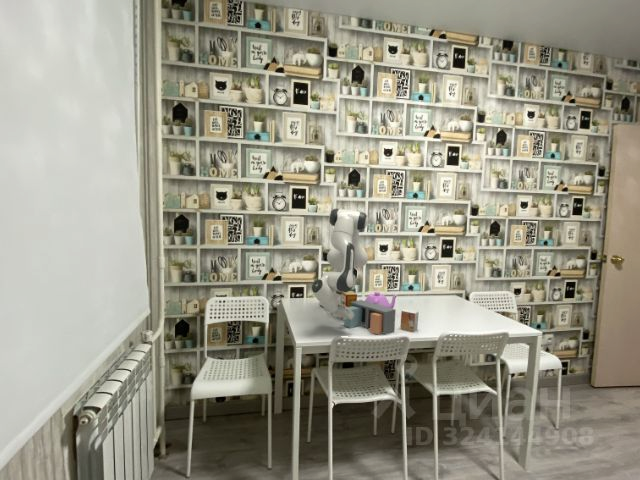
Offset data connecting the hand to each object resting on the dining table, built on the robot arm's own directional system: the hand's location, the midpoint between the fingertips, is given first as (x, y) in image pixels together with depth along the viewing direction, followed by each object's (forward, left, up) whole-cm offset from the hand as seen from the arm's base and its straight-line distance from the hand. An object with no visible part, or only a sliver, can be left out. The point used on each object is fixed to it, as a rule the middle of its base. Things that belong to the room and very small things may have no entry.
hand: (344, 318), depth 222 cm
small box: (+23, +27, -6) cm, 36 cm away
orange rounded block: (+16, +10, -5) cm, 20 cm away
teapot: (-6, +37, -6) cm, 38 cm away
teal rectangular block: (0, +7, -5) cm, 8 cm away
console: (+8, +13, -5) cm, 16 cm away
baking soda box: (-11, +14, -6) cm, 19 cm away
